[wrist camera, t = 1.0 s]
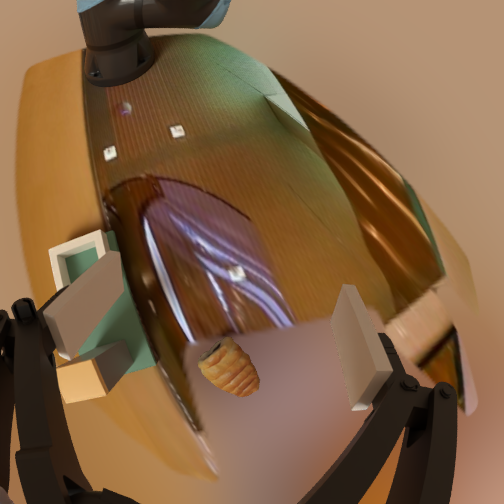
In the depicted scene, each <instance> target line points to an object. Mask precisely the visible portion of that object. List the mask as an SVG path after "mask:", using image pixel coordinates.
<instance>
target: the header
mask: <svg viewBox="0 0 504 504" xmlns="http://www.w3.org/2000/svg"><path fill="white" fill-rule="evenodd" d="M93 247H96V250H97V254H98V259H100V258H101V257H102V256H103V255H105V254H106V253H107V252H108V251H109V250H110V248H109V244H108V239H107V235H106V234H105V233H104V232H103V231H102V230H97V231H94V232H92V233H89V234H86V235H84V236H81V237H79V238H76V239H73V240H71V241H68V242H66V243H63V244H61V245H58V246H56V247H53V248H51V249H49V255H50V260H51V266H52V271H53V275H54V280H55V284H56V288H57V292H58V291H59V290H60V289H61V288H63V287H65V286H67V285H69V286H70V285H71V283H70V279H69V274H68V270H67V265H66V261H65V258H67V257H69V256H72V255H75V254H77V253H80V252H83V251H85V250H88V249H91V248H93Z"/></svg>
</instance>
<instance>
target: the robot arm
mask: <svg viewBox="0 0 504 504" xmlns="http://www.w3.org/2000/svg"><path fill="white" fill-rule="evenodd" d="M230 2H231V0H77V12H78V13H79V18H80V22H81V26H82V30H83V34H84V38H85V42H86V46H87V51H86V59H85V73H86V76H87V79H88V81H89V82H90V83H91V84H93V85H96V86H100V87H111V86H117V85H121V84H124V83H127V82H130V81H132V80H134V79H136V78H138V77H139V76H141V75H142V74H143V73H145V72H146V71H147V70H148V69H149V68H150V66H151V65H152V63H153V61H154V48H153V45H152V43H151V41H150V39H149V38H148V36H147V34H146V32H145V30H144V28H190V29H199V28H215V27H217V26H219V25H220V24H221V22H222V21H223V19H224V17H225V15H226V13H227V11H228V8H229V3H230ZM123 292H124V285H123V277H122V268H121V258H120V252H117V251H111V250H109V251H108V252H107V253H106V254H105V255H103V256H102V257H101V258H100V259H99V260H98V261H97V262H95V263H94V264H93V265H92V266H91V267H90V268H89V269H87V270H86V271H85V272H84V273H83V274H82V275H81V276H80V277H78V278H77V279H76V280H75V281H74V282H73V283H72V284H71V285H70V286H69V285H67V286H65V287H63V288H61V289H60V290H59V291H58V292H57V293H55V295H53V296H52V297H51V298H50V300H48V301H47V302H46V303H45V304H44V305H43V306H42V307H41V308H40V309H39V310H38V311H36V308H35V305H34V302H33V300H32V299H30V298H22V299H19V300H17V301H15V302H14V303H13V305H12V307H11V309H12V312H13V315H14V317H15V319H10V318H9V316H8V313H7V312H6V311H5V310H0V504H14V503H13V501H12V500H11V499H9V496H8V489H9V478H10V477H9V476H10V443H11V430H12V429H11V428H12V420H13V412H14V405H15V409H16V418H17V419H16V420H17V428H18V435H19V441H20V450H19V451H16V454H15V459H16V465H17V468H18V474H19V477H20V482H21V485H22V489H23V492H24V496H25V499H26V502H27V504H140V503H138V502H136V501H134V500H133V499H131V498H128V497H126V496H123V495H120V494H117V493H115V492H113V491H110V490H108V489H105V488H103V491H102V492H101V491H93V489H92V487H91V485H90V484H89V482H88V480H87V479H86V477H85V476H84V474H83V472H82V470H81V468H80V465H79V462H78V459H77V456H76V453H75V450H74V447H73V443H72V440H71V436H70V433H69V430H68V426H67V422H66V418H65V414H64V409H63V404H62V400H61V395H60V389H59V384H58V377H57V371H56V364H55V357H54V354H53V351H54V350H55V348H57V351H58V353H59V355H60V356H61V357H63V358H66V359H68V360H70V361H71V360H72V359H73V357H74V356H75V355H76V353H77V352H78V350H79V349H80V348H81V346H82V345H83V343H84V342H85V341H86V339H87V338H88V337H89V335H90V334H91V333H92V331H93V330H94V329H95V327H96V326H97V325H98V323H99V322H100V321H101V319H102V318H103V317H104V316H105V314H106V313H107V312H108V310H109V309H110V308H111V307H112V305H113V304H114V303H115V302H116V300H117V299H118V298H119V297H120V295H121V294H122V293H123ZM330 323H331V327H332V331H333V335H334V339H335V343H336V346H337V350H338V354H339V358H340V362H341V367H342V371H343V375H344V379H345V384H346V388H347V393H348V397H349V402H350V407H351V410H366V409H367V408H368V407H369V405H370V404H371V403H372V405H373V408H374V409H373V411H372V412H371V413H370V414H369V416H368V417H367V418H366V420H365V421H364V424H363V425H362V427H361V428H360V430H359V431H358V432H357V434H356V435H355V437H354V438H353V439H352V441H351V442H350V444H349V445H348V446H347V448H346V449H345V450H344V451H343V453H342V454H341V455H340V456H339V458H338V459H337V460H336V461H335V463H334V464H333V465H332V466H331V467H330V469H329V470H328V471H327V472H326V473H325V474H324V476H323V477H322V478H321V479H320V480H319V481H318V482H317V483H316V485H315V486H314V487H313V488H312V489H311V490H310V491H309V492H308V493H307V494H306V495H305V496H304V497H303V498H302V499H301V500H300V501H299V502H298V503H297V504H358V503H359V501H360V500H361V498H362V497H363V496H364V494H365V493H366V491H367V490H368V488H369V487H370V486H371V484H372V483H373V481H374V480H375V478H376V476H377V475H378V473H379V471H380V470H381V468H382V467H383V465H384V464H385V462H386V460H387V458H388V457H389V455H390V453H391V451H392V450H393V448H394V446H395V444H396V442H397V440H398V438H399V436H400V434H401V432H402V430H403V428H404V427H405V433H404V438H403V443H402V448H401V452H400V456H399V460H398V464H397V468H396V472H395V475H394V479H393V483H392V486H391V489H390V493H389V495H388V498H387V501H386V504H449V502H450V497H451V491H452V484H453V478H454V470H455V460H456V447H457V394H456V391H455V389H454V387H452V386H451V385H450V384H448V383H446V382H439V383H437V384H436V385H435V387H434V388H433V389H432V388H427V387H422V386H420V384H419V382H418V381H417V379H416V378H414V377H413V376H410V375H408V374H406V372H405V370H404V367H403V365H402V363H401V361H400V358H399V356H398V354H397V352H396V350H395V349H394V345H393V343H392V341H391V339H390V338H389V337H388V336H387V335H386V334H385V333H377V331H376V329H375V327H374V325H373V322H372V320H371V318H370V316H369V314H368V312H367V309H366V307H365V305H364V303H363V301H362V299H361V297H360V295H359V293H358V291H357V289H356V287H355V285H348V284H343V285H342V288H341V291H340V294H339V297H338V300H337V303H336V306H335V309H334V312H333V315H332V318H331V321H330ZM1 350H3V353H2V355H1Z"/></svg>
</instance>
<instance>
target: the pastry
mask: <svg viewBox="0 0 504 504" xmlns="http://www.w3.org/2000/svg"><path fill="white" fill-rule="evenodd" d="M198 366H199V367H200V369H201V371H202V374H203V375H204V376H205V377H206V378H207V379H208V380H209V381H210V382H212V383H213V384H214V385H215V386H216V387H219V388H220V389H222V390H224V391H226V392H229V393H232V394H235V395H237V396H239V397H244V396H248V395H250V394H252V393H253V392H255V391H257V390H258V389H259V383H260V379H259V377H258V375H257V371H256V369H255V367H254V365H253V364H252V363H251V360H250V357H249V355H248V354H246V353H244V351H242V349H241V347H240V346H239V345H237V344H236V343H235V342H234V341H233V339H232V338H231V337H224V338H223V339H222V340H220V341H218V342H217V343H216V344H215V345H214V346H213V347H212V348H211V349H210V350H209V351H206V352H205V353H203V355H201V356H200V358H199V360H198Z"/></svg>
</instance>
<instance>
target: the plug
mask: <svg viewBox="0 0 504 504" xmlns="http://www.w3.org/2000/svg"><path fill="white" fill-rule="evenodd" d="M133 363H134V362H133V360H132V357H131V355H130V352H129V350H128V347H127V345H126V342H125V339H123V340H120V341H117V342H113V343H110V344H107V345H103V346H100V347H96V348H94V349H92V350H90V351H88V352H86V353H84V354H82V355H80V356H78V357H76V358H74V359H72V360H71V361H68V362H66V363H64V364H62V365H60V366H58V367H56V371H57V377H58V384H59V389H60V391H61V393H62V395H63V397H64V399H65V402H66V403H72V402H78V401H83V400H88V399H92V398H97V397H101V396H106V395H107V394H108V393H109V392H110V390H111V389H112V388H113V387H114V386H115V385H116V383H117V382H118V381H119V380H120V379H121V377H122V376H123V375H124V374H125V373H126V372H127V370H128V369H129V368H130V367H131V366H132V365H133Z"/></svg>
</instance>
